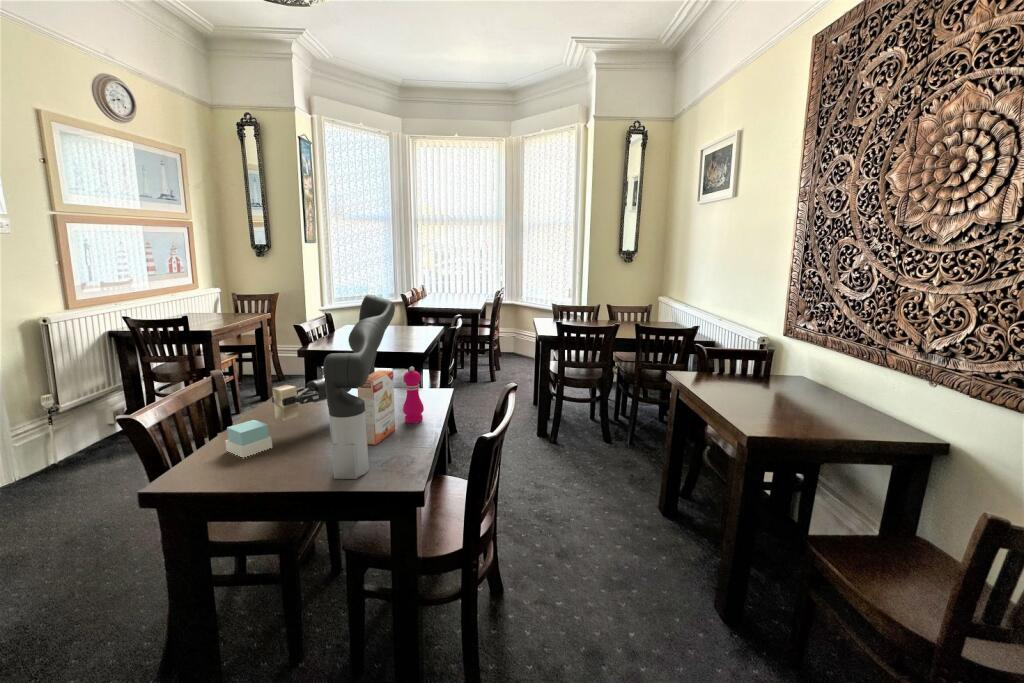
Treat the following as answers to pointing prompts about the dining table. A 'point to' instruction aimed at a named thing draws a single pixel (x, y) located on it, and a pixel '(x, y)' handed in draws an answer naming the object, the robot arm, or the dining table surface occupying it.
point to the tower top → (247, 432)
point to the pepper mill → (412, 397)
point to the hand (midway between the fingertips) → (278, 401)
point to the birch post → (289, 410)
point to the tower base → (249, 447)
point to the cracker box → (378, 405)
